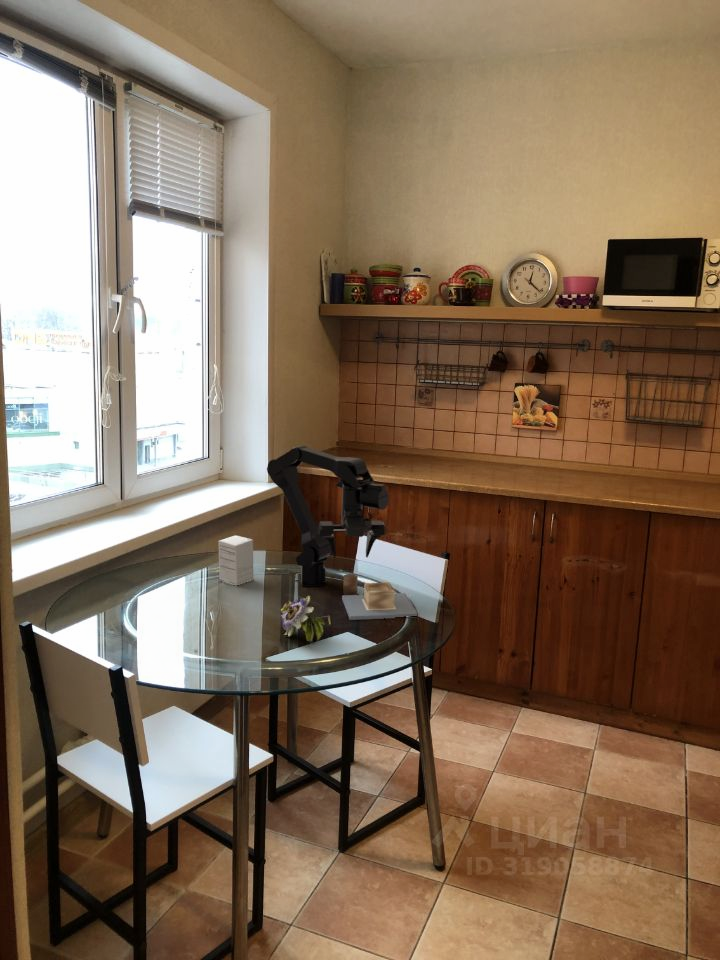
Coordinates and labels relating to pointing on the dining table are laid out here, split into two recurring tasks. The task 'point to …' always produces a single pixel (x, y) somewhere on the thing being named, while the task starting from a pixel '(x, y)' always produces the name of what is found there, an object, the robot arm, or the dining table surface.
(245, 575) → the supplement box
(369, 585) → the oak socket block
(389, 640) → the dining table surface
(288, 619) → the passion flower
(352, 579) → the walnut peg
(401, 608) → the grey rectangular plate
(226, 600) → the dining table surface
